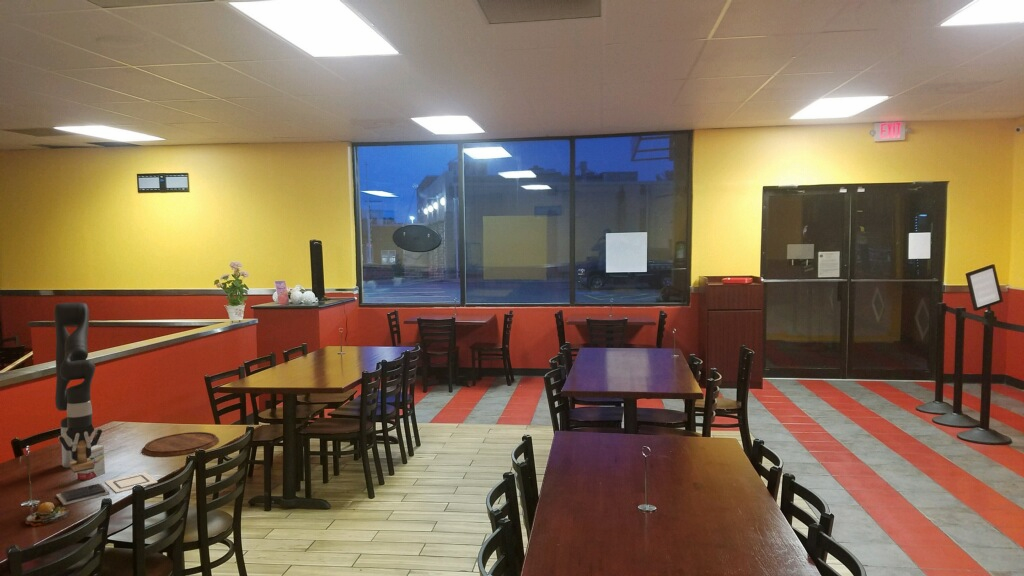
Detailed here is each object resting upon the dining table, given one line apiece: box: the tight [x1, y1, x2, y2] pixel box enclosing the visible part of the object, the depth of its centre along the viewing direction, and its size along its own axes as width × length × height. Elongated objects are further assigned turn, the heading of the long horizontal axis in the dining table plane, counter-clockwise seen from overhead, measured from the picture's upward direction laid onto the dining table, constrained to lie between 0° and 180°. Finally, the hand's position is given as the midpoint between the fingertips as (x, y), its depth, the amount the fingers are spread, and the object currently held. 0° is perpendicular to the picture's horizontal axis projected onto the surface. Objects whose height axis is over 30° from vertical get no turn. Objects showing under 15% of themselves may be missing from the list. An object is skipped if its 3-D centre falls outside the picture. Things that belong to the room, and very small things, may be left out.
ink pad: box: [56, 483, 110, 506], centre depth 222 cm, size 12×14×1 cm
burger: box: [24, 501, 70, 527], centre depth 203 cm, size 12×12×8 cm
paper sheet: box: [104, 471, 159, 494], centre depth 235 cm, size 16×14×1 cm
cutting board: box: [141, 431, 220, 458], centre depth 281 cm, size 32×32×2 cm
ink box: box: [76, 444, 106, 481], centre depth 242 cm, size 9×5×12 cm, turn 168°
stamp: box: [70, 440, 94, 474], centre depth 222 cm, size 6×6×11 cm
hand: (81, 458), depth 222 cm, fingers closed on stamp, 3 cm apart
